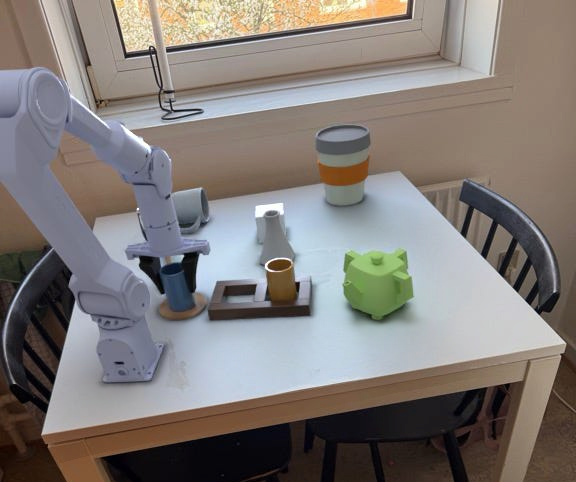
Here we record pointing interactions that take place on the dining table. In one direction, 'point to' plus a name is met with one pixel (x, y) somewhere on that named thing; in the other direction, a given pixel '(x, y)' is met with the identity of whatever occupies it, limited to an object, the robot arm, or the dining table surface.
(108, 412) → the dining table surface
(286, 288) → the ochre cup
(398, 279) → the teapot
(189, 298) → the blue cup
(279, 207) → the white cube
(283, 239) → the flask
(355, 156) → the reusable coffee cup
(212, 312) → the cup holder
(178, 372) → the dining table surface
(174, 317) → the coaster
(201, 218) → the ceramic mug
